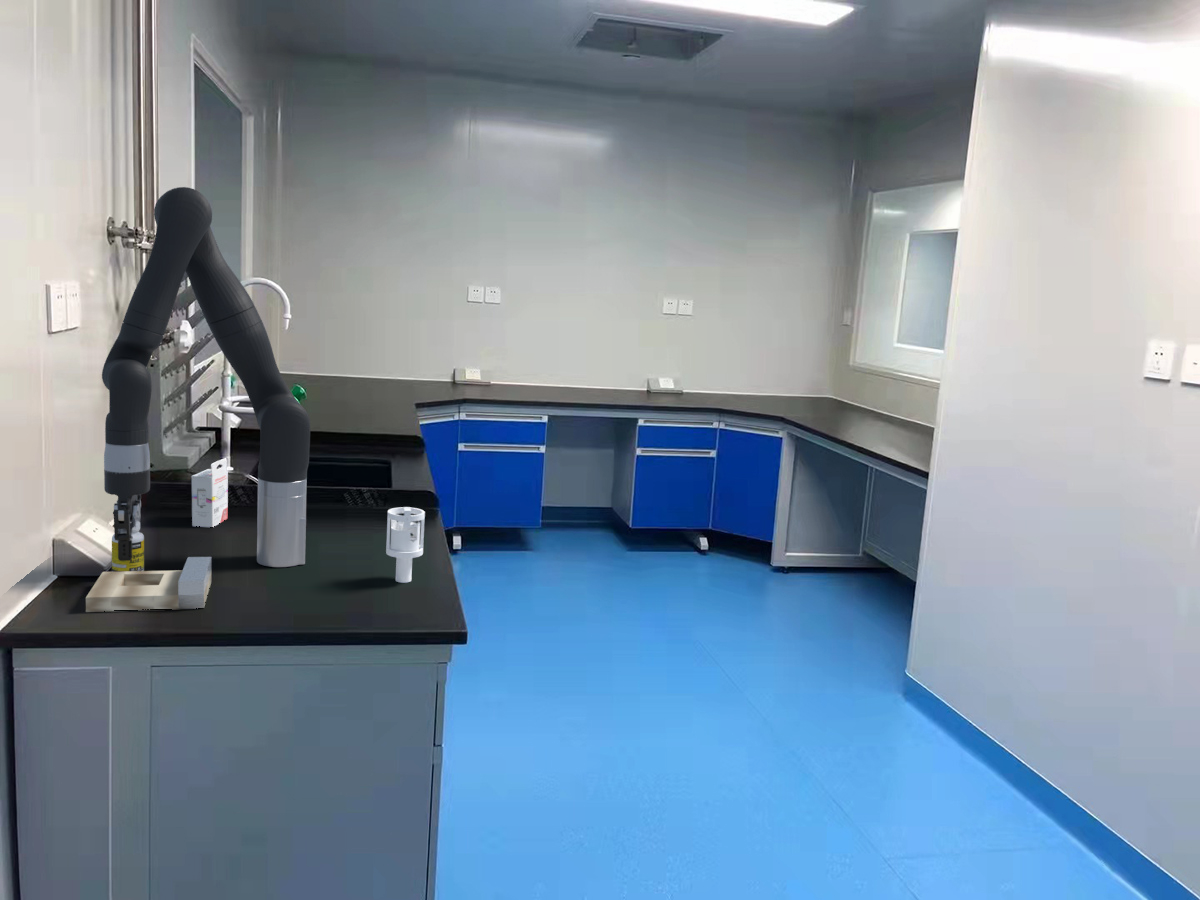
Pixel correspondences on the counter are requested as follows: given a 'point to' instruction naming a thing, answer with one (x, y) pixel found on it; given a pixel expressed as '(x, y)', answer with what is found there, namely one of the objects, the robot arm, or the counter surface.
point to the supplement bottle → (137, 552)
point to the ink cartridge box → (210, 495)
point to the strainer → (405, 539)
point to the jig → (152, 588)
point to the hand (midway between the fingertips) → (128, 555)
